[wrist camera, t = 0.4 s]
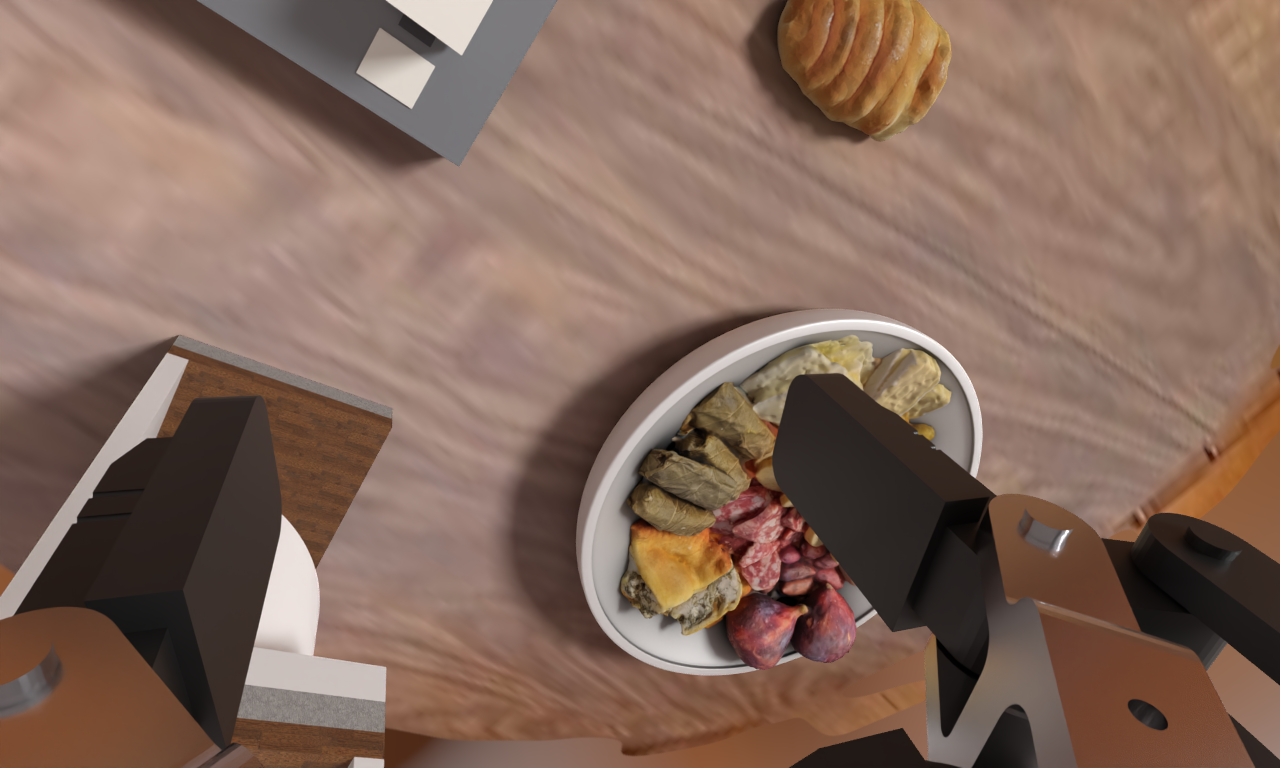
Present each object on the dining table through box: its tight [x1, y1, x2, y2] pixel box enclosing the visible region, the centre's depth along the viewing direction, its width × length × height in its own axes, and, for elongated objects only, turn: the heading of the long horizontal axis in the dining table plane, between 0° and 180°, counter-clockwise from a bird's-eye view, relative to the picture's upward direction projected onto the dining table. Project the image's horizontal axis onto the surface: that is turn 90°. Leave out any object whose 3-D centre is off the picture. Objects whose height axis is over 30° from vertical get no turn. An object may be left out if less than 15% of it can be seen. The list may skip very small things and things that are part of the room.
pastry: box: [778, 0, 951, 141], centre depth 34 cm, size 9×7×4 cm
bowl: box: [576, 308, 982, 675], centre depth 46 cm, size 30×30×8 cm
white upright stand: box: [0, 335, 392, 768], centre depth 22 cm, size 11×11×35 cm
